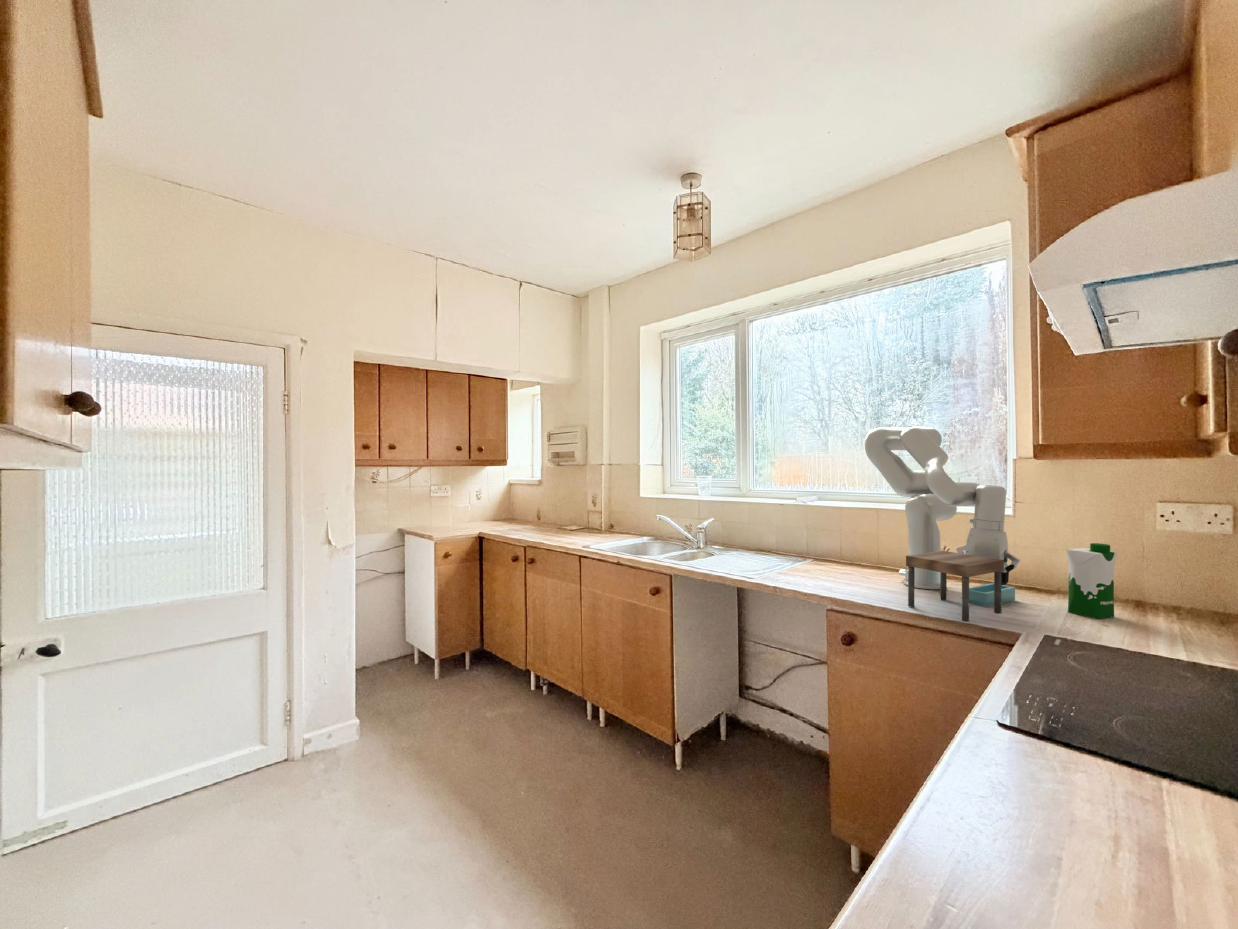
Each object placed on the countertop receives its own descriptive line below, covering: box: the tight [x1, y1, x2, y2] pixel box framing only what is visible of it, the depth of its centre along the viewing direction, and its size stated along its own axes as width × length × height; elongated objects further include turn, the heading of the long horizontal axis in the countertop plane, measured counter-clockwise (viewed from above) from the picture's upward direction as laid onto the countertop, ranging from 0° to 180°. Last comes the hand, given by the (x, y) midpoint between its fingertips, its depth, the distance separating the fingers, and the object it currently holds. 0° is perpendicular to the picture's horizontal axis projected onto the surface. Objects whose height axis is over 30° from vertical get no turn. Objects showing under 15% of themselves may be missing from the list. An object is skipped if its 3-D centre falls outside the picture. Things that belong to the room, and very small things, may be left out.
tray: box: [969, 582, 1016, 608], centre depth 156 cm, size 6×16×4 cm, turn 118°
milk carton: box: [1066, 542, 1118, 620], centre depth 142 cm, size 9×9×20 cm
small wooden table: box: [905, 550, 1004, 623], centre depth 147 cm, size 17×18×15 cm
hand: (985, 580), depth 157 cm, fingers open, 9 cm apart
